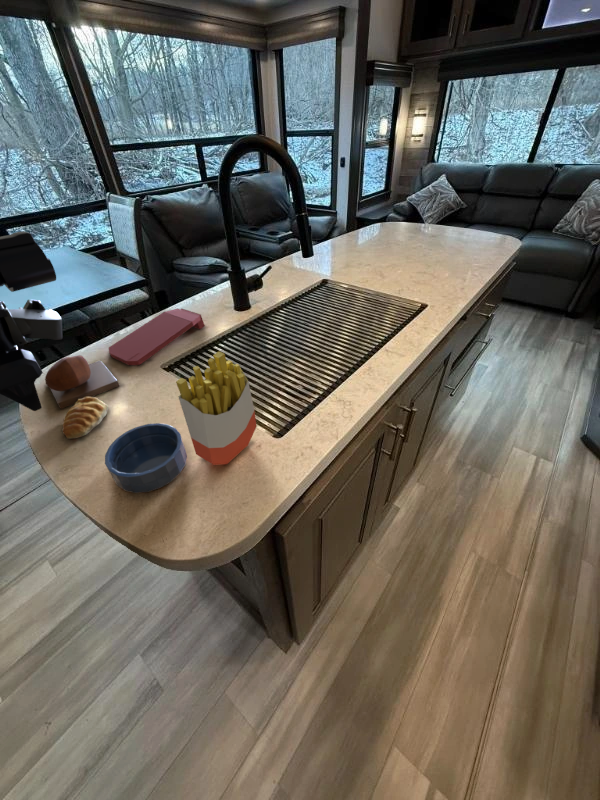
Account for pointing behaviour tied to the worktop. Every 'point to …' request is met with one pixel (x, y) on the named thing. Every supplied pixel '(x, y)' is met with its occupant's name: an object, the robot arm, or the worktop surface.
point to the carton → (154, 336)
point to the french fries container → (218, 410)
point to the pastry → (84, 417)
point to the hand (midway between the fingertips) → (32, 395)
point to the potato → (68, 373)
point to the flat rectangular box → (88, 386)
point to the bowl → (146, 457)
